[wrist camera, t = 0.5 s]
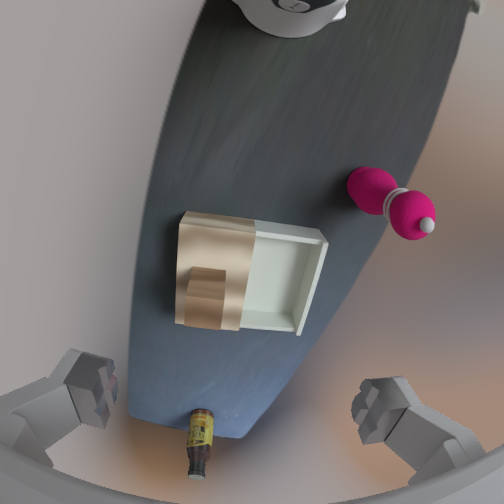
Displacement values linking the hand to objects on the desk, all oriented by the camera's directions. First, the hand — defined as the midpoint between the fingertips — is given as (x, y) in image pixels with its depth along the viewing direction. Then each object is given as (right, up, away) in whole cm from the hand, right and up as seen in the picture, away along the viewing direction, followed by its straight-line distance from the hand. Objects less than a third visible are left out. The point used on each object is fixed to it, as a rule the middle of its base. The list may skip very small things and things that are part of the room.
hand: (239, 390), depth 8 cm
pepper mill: (+19, +16, +38) cm, 45 cm away
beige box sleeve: (-6, +2, +42) cm, 43 cm away
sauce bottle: (-13, -39, +62) cm, 74 cm away
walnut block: (-6, 0, +37) cm, 37 cm away
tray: (+5, +1, +44) cm, 44 cm away
